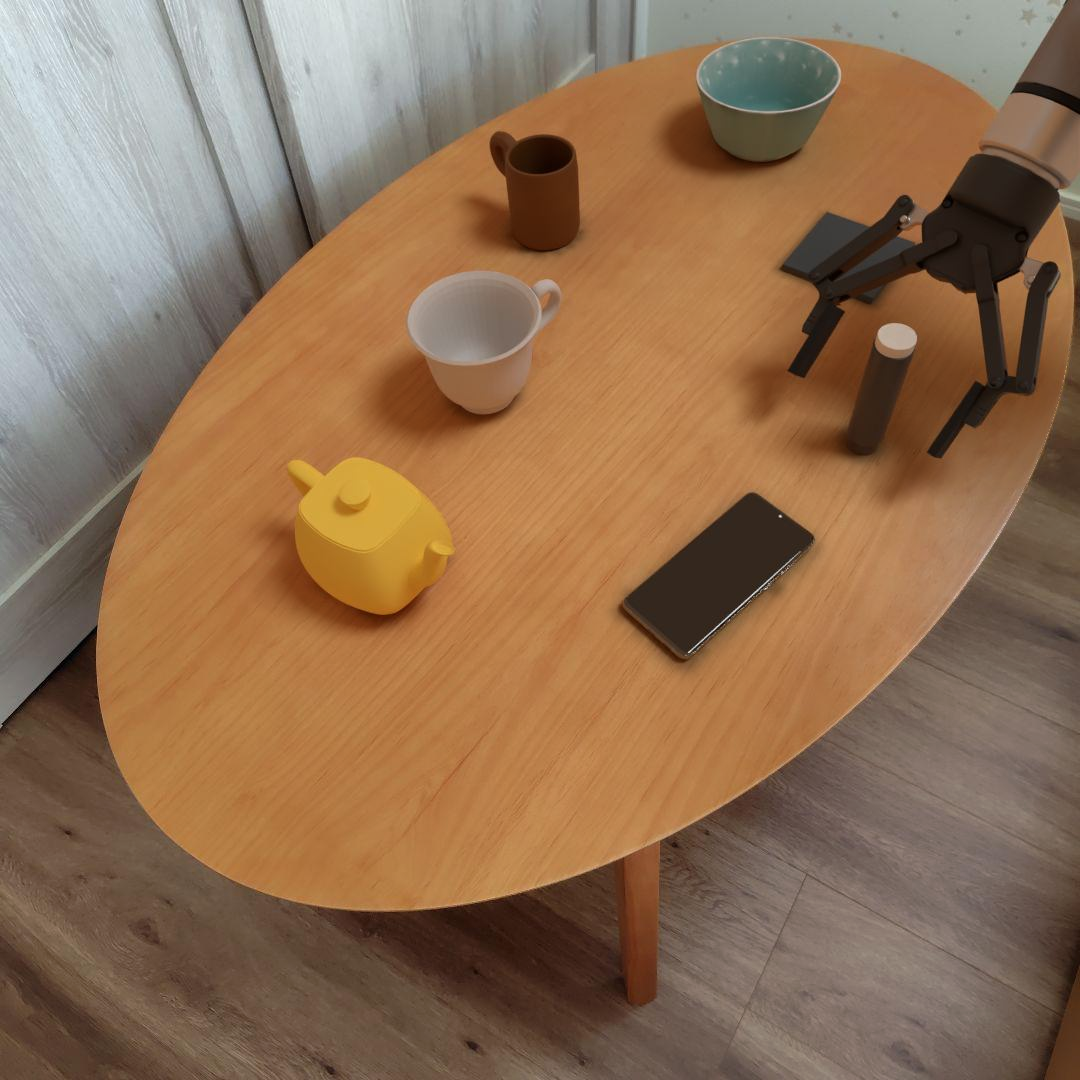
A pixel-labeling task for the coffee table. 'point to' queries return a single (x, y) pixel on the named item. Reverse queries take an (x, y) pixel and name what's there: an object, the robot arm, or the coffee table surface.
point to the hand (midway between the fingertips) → (861, 414)
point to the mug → (539, 188)
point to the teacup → (480, 335)
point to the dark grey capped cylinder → (880, 387)
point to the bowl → (766, 95)
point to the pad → (829, 240)
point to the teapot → (368, 534)
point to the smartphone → (718, 574)
